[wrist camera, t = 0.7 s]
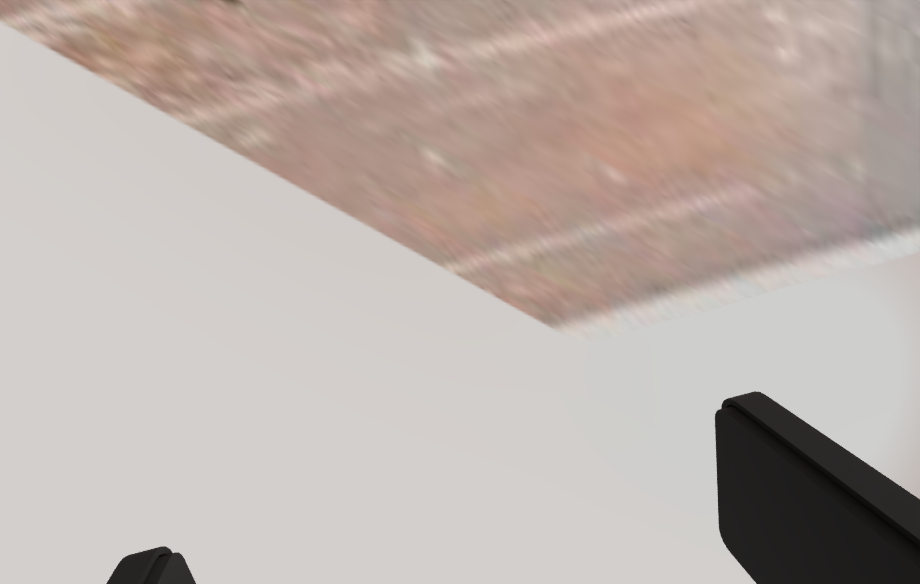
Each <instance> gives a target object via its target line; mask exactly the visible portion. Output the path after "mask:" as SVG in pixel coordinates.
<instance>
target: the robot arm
mask: <svg viewBox="0 0 920 584" xmlns="http://www.w3.org/2000/svg"><path fill="white" fill-rule="evenodd" d="M715 429H716V458H717V484H718V513H719V530H720V534H721V537H722V539H723V542H724V544H725V545H726V547H727V548H728V550H729V551H730V552H731V554H732V555H733V556H734V557H735V558H736V559H737V561H738V562H739V563H740V564H741V566H742V567H743V568H744V569H745V570H746V571H747V573H748V574H749V575H750V576H751V578H752V579H753V580H754V581H755V582H756V583H757V584H920V499H918V498H917V497H915V496H914V495H912V494H910V493H909V492H908V491H906V490H905V489H904V488H902V487H901V486H899V485H898V484H896V483H895V482H893V481H892V480H890V479H889V478H887V477H886V476H884V475H883V474H881V473H880V472H878V471H877V470H875V469H874V468H873V467H871V466H869V465H868V464H867V463H865V462H864V461H862V460H861V459H859V458H858V457H856V456H855V455H853V454H852V453H850V452H849V451H847V450H846V449H844V448H843V447H841V446H840V445H839V444H837V443H835V442H834V441H832V440H831V439H830V438H828V437H827V436H825V435H824V434H822V433H821V432H819V431H818V430H816V429H815V428H813V427H812V426H810V425H809V424H807V423H806V422H805V421H803V420H802V419H800V418H799V417H797V416H796V415H794V414H793V413H791V412H790V411H788V410H787V409H785V408H784V407H782V406H781V405H779V404H778V403H776V402H775V401H773V400H772V399H771V398H769V397H768V396H766V395H764V394H762V393H761V392H751V393H748V394H744V395H740V396H736V397H733V398H728V399H726V400H724V401H723V404H722V409H720V410H718V411H717V412H716V414H715ZM107 584H196V583H195V581H194V579H193V577H192V574H191V572H190V570H189V568H188V566H187V564H186V562H185V559H184V558H183V556H182V555H181V554H180V553H172V551H171V550H170V549H169V548H167V547H158V548H154V549H151V550H147V551H143V552H139V553H135V554H131V555H128V556H126V557H125V558H123V559H122V560H121V561H120V563H119V564H118V566H117V567H116V569H115V570H114V572H113V574H112V576H111V577H110V579H109V580H108V582H107Z"/></svg>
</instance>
